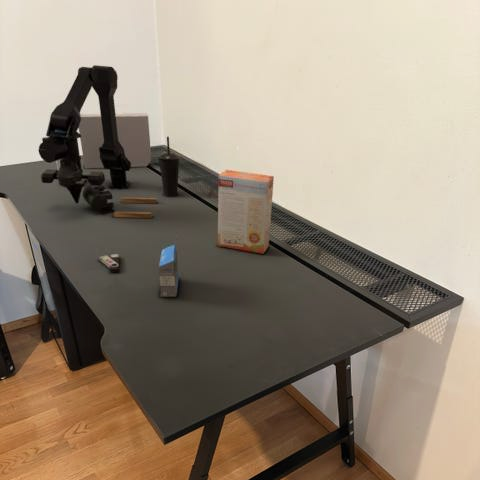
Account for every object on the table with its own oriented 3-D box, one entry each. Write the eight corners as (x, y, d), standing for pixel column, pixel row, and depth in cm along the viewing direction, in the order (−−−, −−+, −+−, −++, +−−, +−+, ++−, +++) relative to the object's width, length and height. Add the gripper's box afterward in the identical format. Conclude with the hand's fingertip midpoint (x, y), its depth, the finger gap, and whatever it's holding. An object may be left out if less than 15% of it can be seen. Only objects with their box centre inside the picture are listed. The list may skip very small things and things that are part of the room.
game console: (85, 164, 191) (77, 113, 179) (150, 162, 197) (147, 113, 185) (84, 168, 186) (76, 116, 175) (151, 166, 192) (148, 115, 181)
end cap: (84, 205, 153) (80, 185, 149) (104, 202, 157) (102, 182, 153) (93, 215, 147) (90, 195, 143) (114, 212, 150) (112, 192, 146)
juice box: (163, 278, 115) (160, 233, 108) (178, 278, 116) (176, 233, 108) (160, 297, 108) (156, 250, 101) (176, 297, 108) (174, 250, 101)
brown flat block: (122, 201, 158) (121, 197, 157) (156, 202, 158) (156, 198, 158) (114, 217, 146) (113, 212, 145) (151, 218, 147) (151, 213, 146)
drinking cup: (183, 191, 168) (181, 134, 157) (178, 198, 162) (176, 140, 151) (162, 190, 169) (159, 133, 157) (157, 197, 163) (153, 138, 151)
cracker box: (269, 246, 133) (275, 175, 121) (263, 255, 128) (268, 181, 116) (224, 238, 136) (226, 168, 124) (217, 246, 132) (217, 174, 120)
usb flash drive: (119, 271, 117) (119, 268, 116) (98, 273, 116) (97, 269, 115) (119, 256, 124) (119, 253, 123) (99, 257, 123) (99, 254, 122)
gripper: (30, 160, 134) (40, 210, 143) (94, 163, 135) (100, 213, 144) (42, 150, 144) (51, 198, 152) (102, 153, 145) (107, 201, 153)
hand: (77, 203), depth 150 cm, fingers closed
